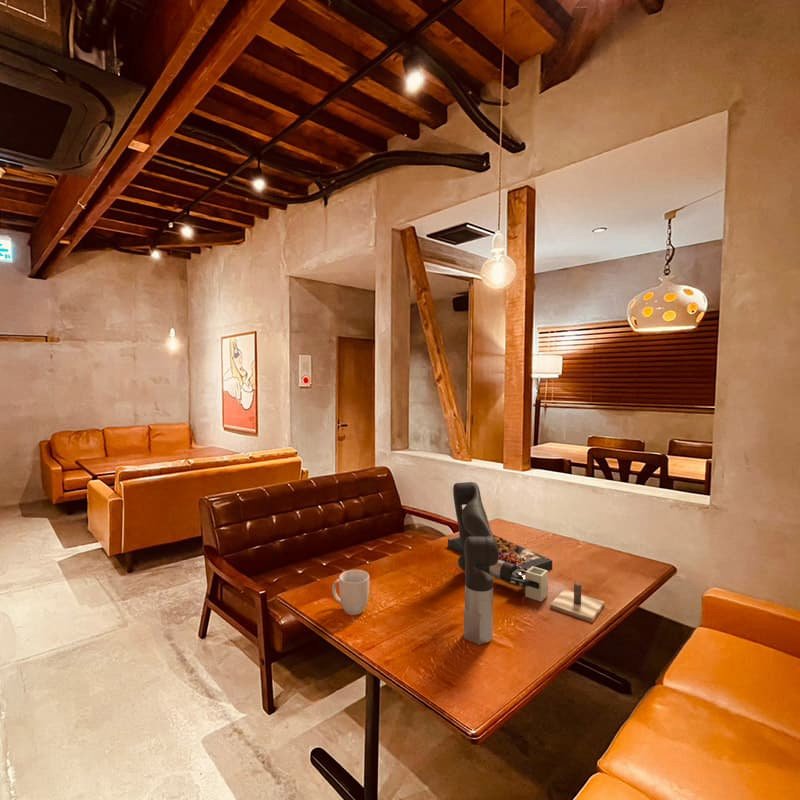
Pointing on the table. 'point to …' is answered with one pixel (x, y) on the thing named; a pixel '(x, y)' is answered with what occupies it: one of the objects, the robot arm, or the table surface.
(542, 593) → the cream square bin
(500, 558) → the food platter
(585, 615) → the post base
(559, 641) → the table surface
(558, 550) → the table surface
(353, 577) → the mug
